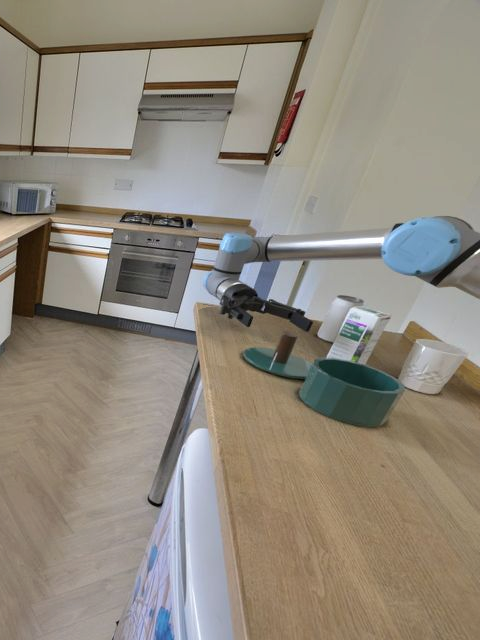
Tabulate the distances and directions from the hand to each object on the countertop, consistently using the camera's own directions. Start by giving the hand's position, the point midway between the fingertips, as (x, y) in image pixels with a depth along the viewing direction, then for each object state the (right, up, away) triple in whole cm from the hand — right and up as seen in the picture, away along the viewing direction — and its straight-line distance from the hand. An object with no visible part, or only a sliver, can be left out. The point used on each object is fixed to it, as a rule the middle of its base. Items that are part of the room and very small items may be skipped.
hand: (279, 324), depth 98 cm
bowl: (0, -17, -16) cm, 23 cm away
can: (+26, -4, +16) cm, 31 cm away
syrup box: (+16, -10, +1) cm, 19 cm away
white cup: (+26, -14, -7) cm, 30 cm away
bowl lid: (-1, -9, -1) cm, 9 cm away
